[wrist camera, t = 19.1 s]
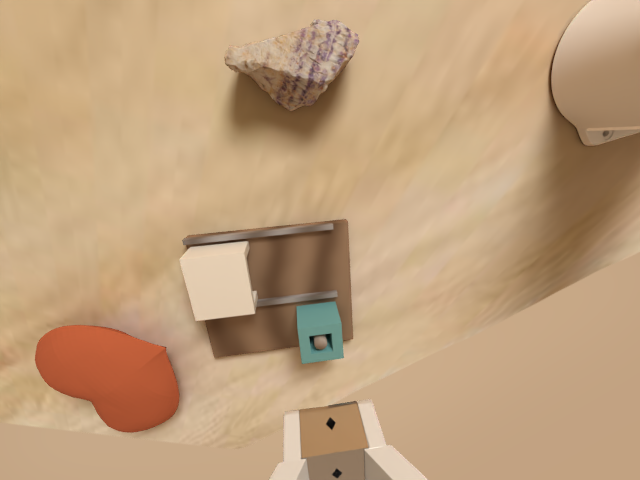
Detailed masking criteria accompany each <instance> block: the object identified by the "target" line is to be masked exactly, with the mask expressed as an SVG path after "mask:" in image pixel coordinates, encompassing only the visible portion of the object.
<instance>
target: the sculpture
mask: <svg viewBox="0 0 640 480" xmlns="http://www.w3.org/2000/svg"><path fill="white" fill-rule="evenodd" d="M35 362H36V366H37V368H38V370H39V372H40V374H41V376H42V378H43V379H44V381H45V382H46V383H47V384H48V385H49V386H50V387H52V388H54V389H55V390H57V391H59V392H61V393H63V394H66V395H69V396H71V397H76V398H80V399H85V400H89V401H91V402H92V404H93V405H94V407H95V409H96V412H97V413H98V415H99V416H100V417H101V419H102V420H103V421H104V422H105V423H106V424H107V426H109V427H111V428H113V429H115V430H118V431H121V432H138V431H143V430H147V429H149V428H152V427H155V426H157V425H159V424H161V423H163V422H165V421H166V420H168V419H169V418H170V417H172V416H173V414H174V413H175V411H176V410H177V407H178V403H179V391H178V385H177V381H176V378H175V375H174V372H173V369H172V367H171V364H170V362H169V359H168V356H167V353H166V347H163V346H158V345H154V344H151V343H148V342H146V341H143V340H140V339H137V338H134V337H132V336H130V335H128V334H126V333H124V332H121V331H119V330H115V329H112V328H106V327H99V326H85V325H73V326H63V327H59V328H56V329H54V330H51V331H50V332H48V333H47V334H45V335H44V336H43V337H42V338H41V339H40V340H39V342H38V344H37V349H36V355H35Z"/></svg>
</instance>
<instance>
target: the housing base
mask: <svg viewBox="0 0 640 480" xmlns="http://www.w3.org/2000/svg"><path fill="white" fill-rule="evenodd" d="M182 241H183V245H186V246H187V250H188V249H189V248H190V247H195V246H204V245H214V244H223V243H233V242H242V241H248V242H249V248H250V249H249V252H248V255H247V264H248V269H249V275H250V281H251V286H252V291H257V295H258V300H257V305H256V311H255V314H249V315H241V316H233V317H225V318H217V319H209V320H205V322H206V326H207V330H208V334H209V338H210V342H211V346H212V350H213V354H214V357H222V356H229V355H237V354H244V353H252V352H259V351H267V350H275V349H282V348H290V347H297V346H300V344H299V336H298V328H297V309H296V306H302V305H310V304H318V303H326V302H334V301H335V302H336V306H337V309H338V313H339V316H340V320H341V323H342V339H343V340H350V339H353V325H352V303H351V280H350V257H349V235H348V221H347V220H346V219H344V220H335V221H325V222H315V223H305V224H296V225H286V226H276V227H267V228H257V229H247V230H237V231H228V232H218V233H208V234H199V235H189V236H187V237H186V238H184V239H183V240H182ZM313 337H314V344H315V347H316V348H317V349H324V348H326V346H327V339H326V334H322V335H315V336H313Z"/></svg>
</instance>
